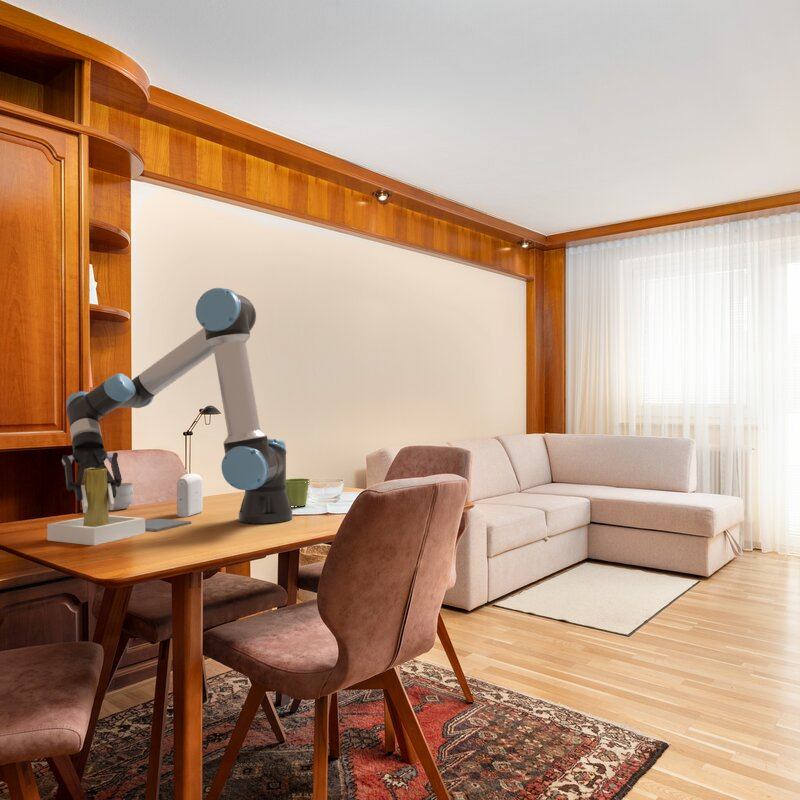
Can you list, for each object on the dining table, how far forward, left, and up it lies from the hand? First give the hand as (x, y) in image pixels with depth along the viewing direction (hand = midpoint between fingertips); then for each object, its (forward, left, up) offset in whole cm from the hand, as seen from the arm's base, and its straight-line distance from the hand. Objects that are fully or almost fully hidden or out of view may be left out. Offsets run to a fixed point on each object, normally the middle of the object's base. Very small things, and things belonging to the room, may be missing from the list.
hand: (99, 507), depth 169 cm
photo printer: (+6, -39, -8) cm, 40 cm away
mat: (+1, -20, -8) cm, 22 cm away
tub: (+3, -2, -8) cm, 9 cm away
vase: (+3, -2, -5) cm, 6 cm away
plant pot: (-15, -65, -8) cm, 67 cm away
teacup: (+37, -40, -8) cm, 55 cm away
